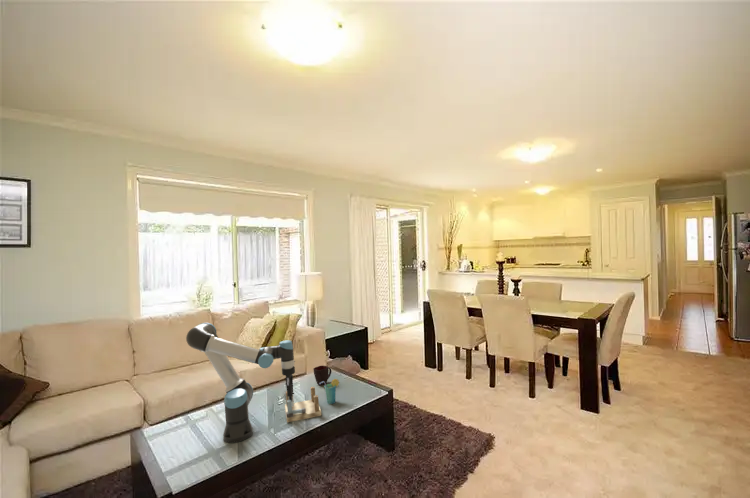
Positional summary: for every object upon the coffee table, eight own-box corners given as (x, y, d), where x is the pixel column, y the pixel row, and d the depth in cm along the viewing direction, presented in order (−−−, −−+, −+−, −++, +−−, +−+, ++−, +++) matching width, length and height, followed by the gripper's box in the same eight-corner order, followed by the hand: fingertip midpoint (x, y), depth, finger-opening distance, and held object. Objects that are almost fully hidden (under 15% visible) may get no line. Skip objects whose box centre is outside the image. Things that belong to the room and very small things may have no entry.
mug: (312, 384, 265) (311, 368, 265) (327, 379, 275) (326, 363, 275) (320, 387, 258) (319, 370, 258) (335, 381, 268) (334, 365, 268)
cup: (323, 408, 223) (322, 383, 223) (317, 404, 229) (315, 380, 230) (342, 400, 232) (340, 377, 232) (336, 397, 238) (334, 375, 238)
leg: (305, 411, 214) (304, 397, 214) (305, 412, 211) (304, 399, 211) (288, 413, 211) (287, 400, 212) (288, 415, 209) (287, 401, 209)
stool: (286, 422, 207) (285, 403, 207) (285, 408, 226) (283, 391, 226) (321, 415, 213) (320, 396, 213) (316, 402, 232) (315, 385, 232)
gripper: (293, 369, 208) (296, 410, 208) (295, 362, 220) (299, 400, 221) (280, 371, 207) (283, 411, 207) (283, 364, 220) (286, 402, 220)
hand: (291, 406), depth 214 cm, fingers closed
